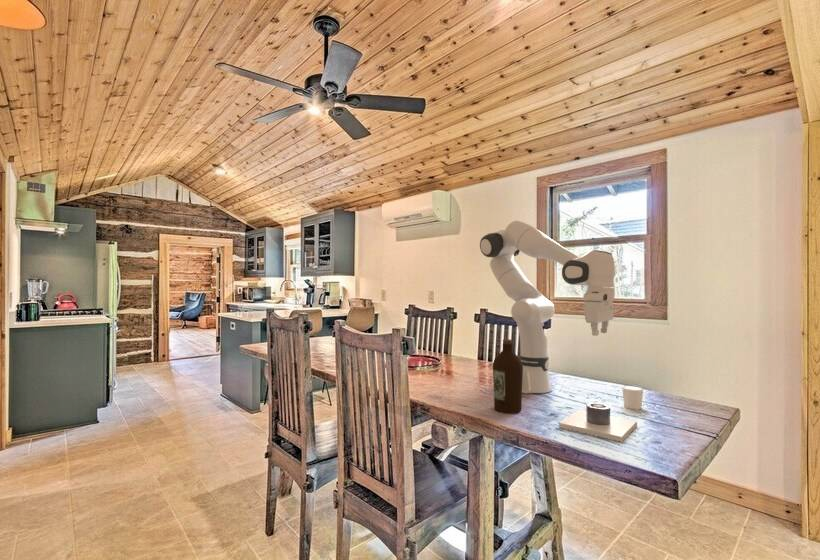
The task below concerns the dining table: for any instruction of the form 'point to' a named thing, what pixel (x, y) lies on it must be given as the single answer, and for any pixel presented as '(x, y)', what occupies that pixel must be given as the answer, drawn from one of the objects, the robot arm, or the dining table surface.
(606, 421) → the steel collar
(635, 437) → the dining table surface
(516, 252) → the robot arm
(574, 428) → the post stand
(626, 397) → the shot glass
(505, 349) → the olive oil
